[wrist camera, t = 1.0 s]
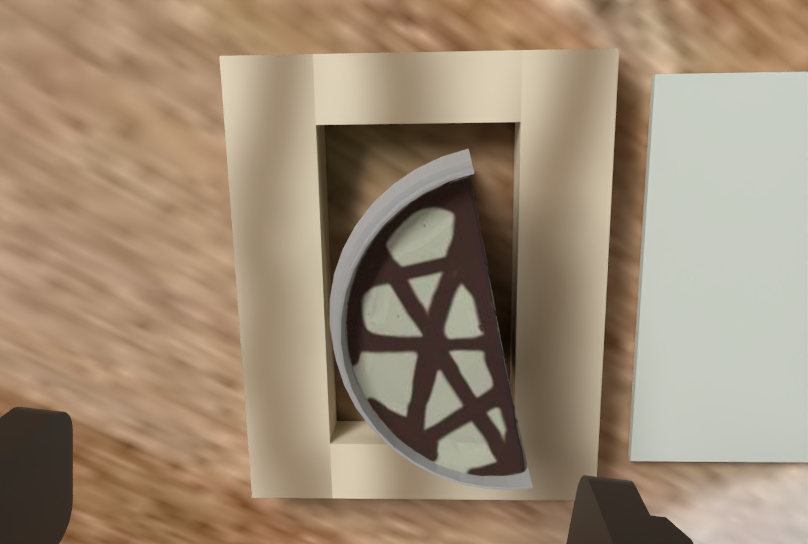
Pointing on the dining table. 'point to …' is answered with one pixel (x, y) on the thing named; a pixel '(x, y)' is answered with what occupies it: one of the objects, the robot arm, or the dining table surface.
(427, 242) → the patterned half cylinder
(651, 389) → the mat
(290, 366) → the frame
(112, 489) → the dining table surface
